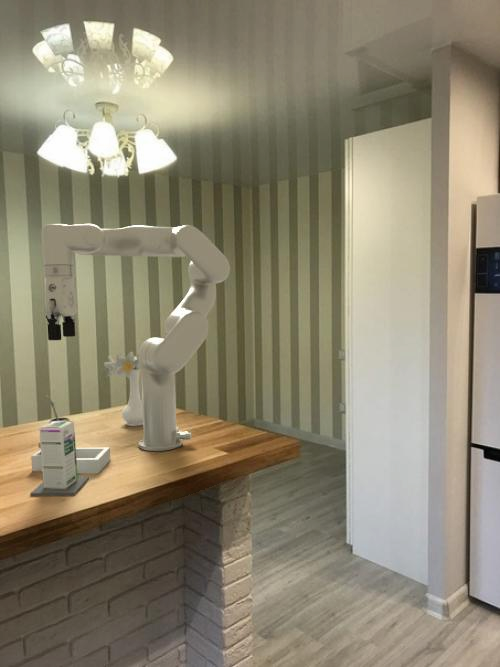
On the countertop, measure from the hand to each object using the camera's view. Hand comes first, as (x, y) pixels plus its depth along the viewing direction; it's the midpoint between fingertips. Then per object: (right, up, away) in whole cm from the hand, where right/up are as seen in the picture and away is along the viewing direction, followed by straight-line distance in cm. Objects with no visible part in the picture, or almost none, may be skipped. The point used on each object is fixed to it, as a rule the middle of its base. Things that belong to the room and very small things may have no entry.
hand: (62, 338), depth 138 cm
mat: (+5, -35, -15) cm, 38 cm away
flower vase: (+10, -30, +41) cm, 51 cm away
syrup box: (+5, -34, -15) cm, 38 cm away
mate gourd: (-7, -32, +17) cm, 37 cm away
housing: (+3, -33, -1) cm, 34 cm away
